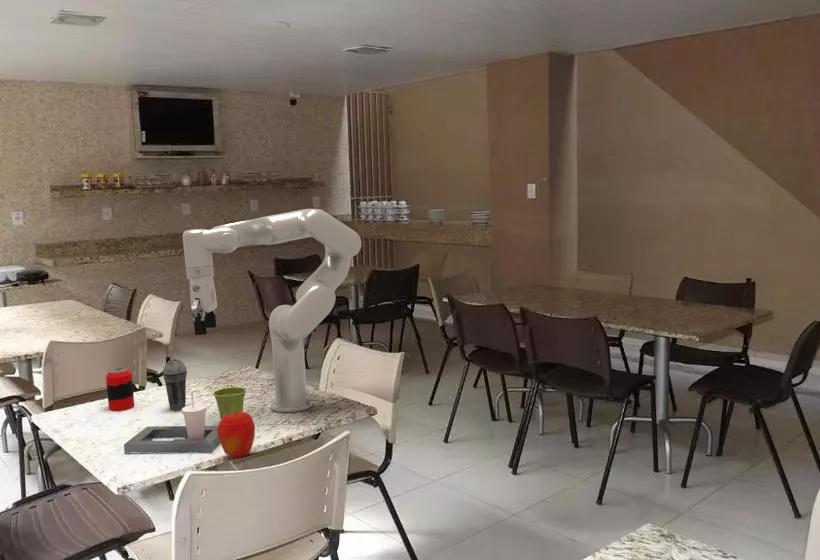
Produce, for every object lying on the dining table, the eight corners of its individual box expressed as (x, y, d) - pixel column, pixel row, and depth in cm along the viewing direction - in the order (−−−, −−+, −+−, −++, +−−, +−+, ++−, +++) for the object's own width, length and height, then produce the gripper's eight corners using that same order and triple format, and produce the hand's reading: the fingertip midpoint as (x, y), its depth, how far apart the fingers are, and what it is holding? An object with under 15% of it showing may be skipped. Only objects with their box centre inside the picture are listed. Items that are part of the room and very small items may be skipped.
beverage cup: (193, 405, 226) (188, 343, 224) (184, 412, 219) (179, 348, 217) (171, 405, 227) (166, 343, 225) (161, 412, 220) (156, 348, 217)
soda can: (135, 402, 231) (131, 366, 230) (133, 409, 224) (130, 372, 223) (109, 405, 229) (106, 369, 228) (107, 412, 222) (104, 374, 220)
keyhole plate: (228, 433, 198) (228, 425, 198) (211, 452, 184) (210, 443, 184) (147, 434, 199) (147, 426, 199) (124, 453, 186) (123, 444, 185)
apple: (245, 447, 187) (242, 402, 185) (263, 455, 180) (260, 409, 179) (212, 457, 181) (209, 411, 179) (230, 466, 174) (227, 418, 173)
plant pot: (210, 419, 211) (208, 391, 210) (240, 413, 216) (238, 385, 215) (222, 427, 203) (220, 398, 202) (253, 420, 209) (251, 391, 208)
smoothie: (201, 437, 196) (198, 387, 194) (213, 442, 191) (209, 391, 190) (180, 443, 192) (175, 392, 190) (191, 449, 187) (187, 396, 185)
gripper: (204, 275, 196) (210, 336, 199) (221, 268, 213) (226, 324, 216) (177, 277, 197) (183, 338, 199) (196, 269, 214) (202, 325, 216)
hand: (206, 331), depth 207 cm, fingers open, 9 cm apart
